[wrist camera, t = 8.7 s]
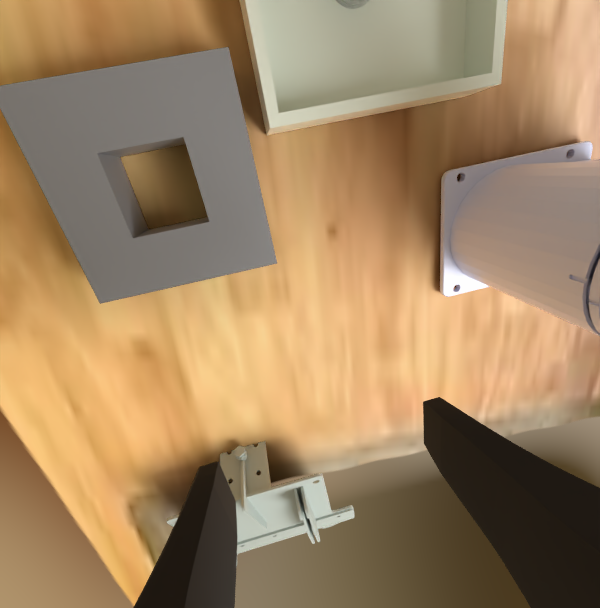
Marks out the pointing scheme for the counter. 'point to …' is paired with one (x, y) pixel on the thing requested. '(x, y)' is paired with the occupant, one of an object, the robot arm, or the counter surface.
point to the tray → (369, 56)
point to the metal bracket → (274, 501)
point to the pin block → (136, 139)
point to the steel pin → (352, 3)
